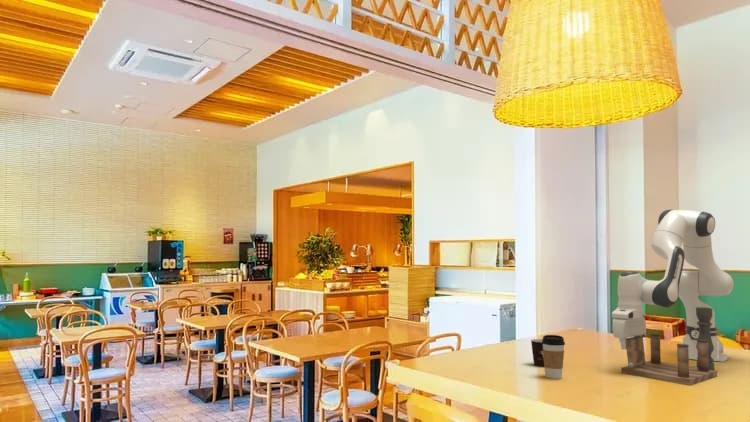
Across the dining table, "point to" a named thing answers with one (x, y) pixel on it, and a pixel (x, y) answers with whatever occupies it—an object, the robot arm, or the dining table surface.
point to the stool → (675, 365)
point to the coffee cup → (553, 355)
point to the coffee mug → (537, 352)
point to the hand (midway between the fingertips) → (630, 347)
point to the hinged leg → (635, 351)
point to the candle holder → (705, 331)
